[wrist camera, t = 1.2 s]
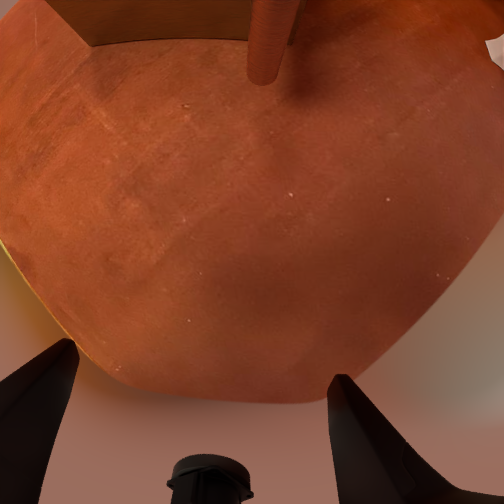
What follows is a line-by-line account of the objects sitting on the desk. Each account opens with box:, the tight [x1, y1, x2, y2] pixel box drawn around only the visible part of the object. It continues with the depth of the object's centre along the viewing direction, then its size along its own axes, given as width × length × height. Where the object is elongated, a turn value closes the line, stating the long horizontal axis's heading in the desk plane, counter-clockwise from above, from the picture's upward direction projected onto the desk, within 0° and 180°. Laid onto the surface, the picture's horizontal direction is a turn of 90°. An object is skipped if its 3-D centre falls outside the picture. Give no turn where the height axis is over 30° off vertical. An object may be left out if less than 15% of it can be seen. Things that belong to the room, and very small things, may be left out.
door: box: [45, 0, 307, 86], centre depth 10 cm, size 7×16×14 cm, turn 84°
